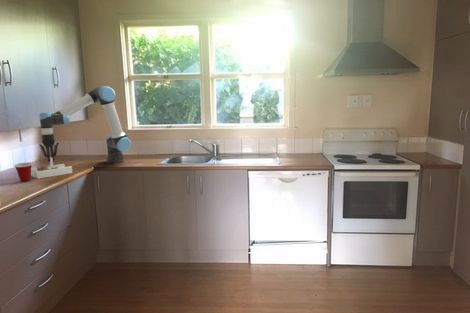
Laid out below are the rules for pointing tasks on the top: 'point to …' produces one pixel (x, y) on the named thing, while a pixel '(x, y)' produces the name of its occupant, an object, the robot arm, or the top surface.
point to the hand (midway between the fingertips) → (51, 166)
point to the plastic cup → (24, 171)
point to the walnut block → (42, 168)
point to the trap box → (51, 171)
